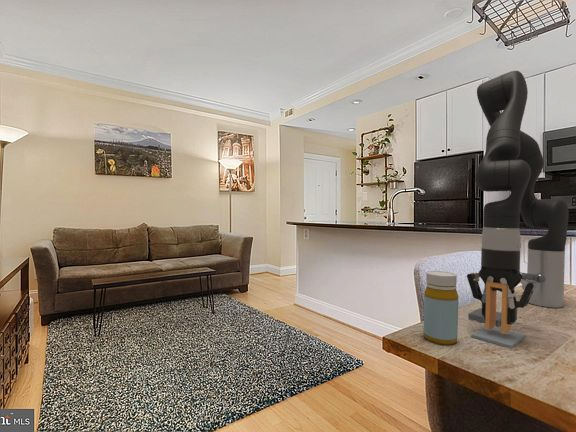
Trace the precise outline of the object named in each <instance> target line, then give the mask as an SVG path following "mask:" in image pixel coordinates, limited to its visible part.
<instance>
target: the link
mask: <svg viewBox="0 0 576 432" xmlns="http://www.w3.org/2000/svg"><path fill="white" fill-rule="evenodd" d="M492 287H495V288H501V289H502V292H501V313H502V316H501V325H500V328H501V333H503V334H506V333H507V332H509V331H512V327H513V326H512V325H513V324H512V325H509V324H507V308H509V306H508V302H507V301H508V299H507V293H508V292H507V285H506V284H501V283H497V282H486V320H485V323H484V326H485V329H488V330H490V329H491V328H493V327H497V326H496V312H497V291H492Z"/></svg>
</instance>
